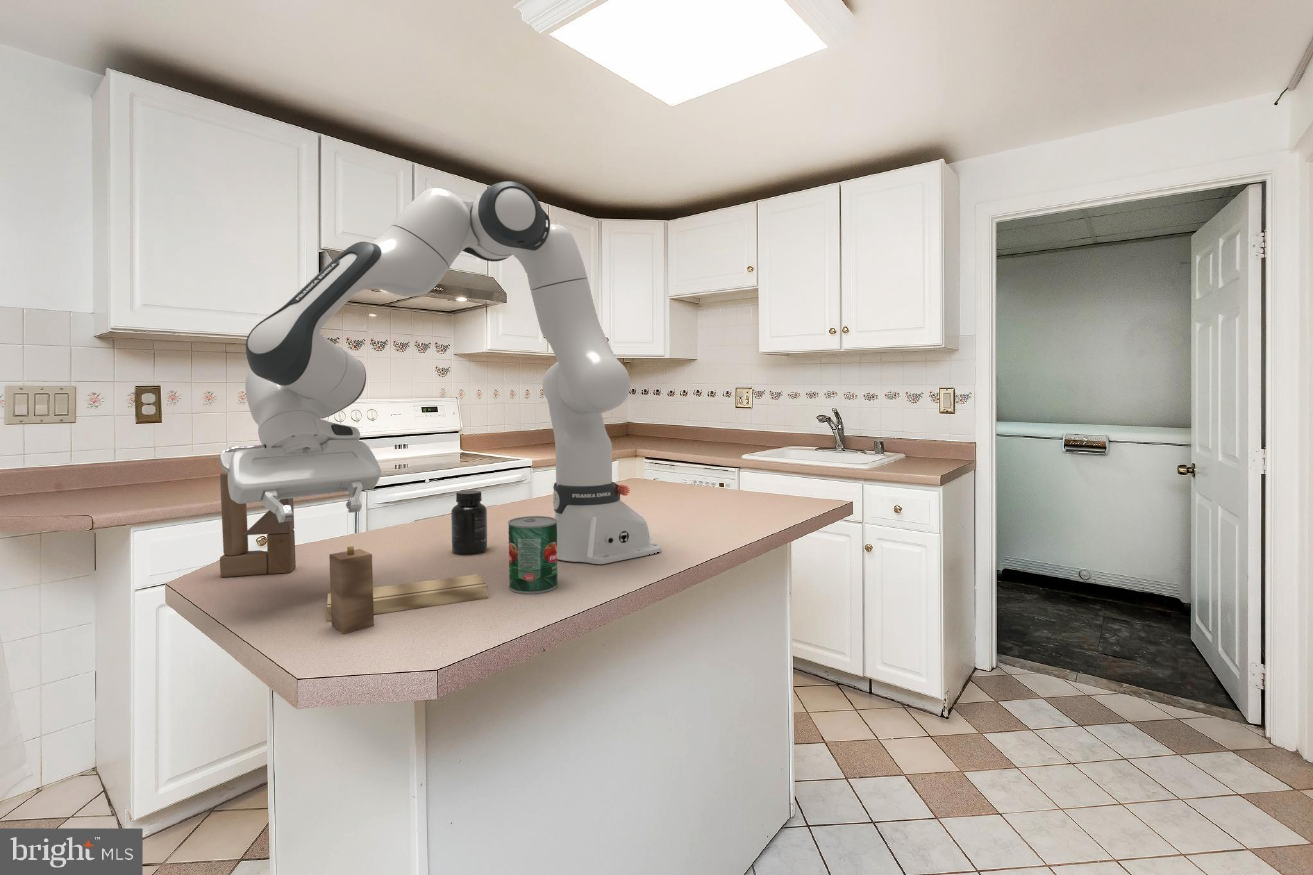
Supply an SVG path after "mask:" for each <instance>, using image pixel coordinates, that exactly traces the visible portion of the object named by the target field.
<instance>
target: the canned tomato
mask: <svg viewBox="0 0 1313 875" xmlns="http://www.w3.org/2000/svg"><path fill="white" fill-rule="evenodd" d="M507 525H508V574H509V575H508V581H509V585H508V589H509V590H510V591H511V592H513V593H516V594H521V595H522V594H523V595H536V594H544V593H548V592H551V591H553V590H555V589H556V588H557V587H558V585H559V584H558V559H557V519H555V517H551V516H545V515H543V516H542V515H528V516H519V517H515V518H511V519H509V520H508V521H507Z"/></svg>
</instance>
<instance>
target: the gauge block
mask: <svg viewBox="0 0 1313 875" xmlns="http://www.w3.org/2000/svg"><path fill="white" fill-rule="evenodd" d="M328 558H329V578H330V579H329V580H330V581H329V582H330V583H329V586H330V593H331V619H332V621H331V627H332V628H333V629H335V630H336V631H338V632H339V633H341V634H342V635H346V634H350V633H353V632H357V631H360V630H363V629H369V628H371V627H374V626H375V621H374V620H375V619H374V618H375V617H374V615H375V614H374V609H373V588H374V586H373V585H374V581H373V579H374V578H373V575H374V574H373V554H372V553H370V552H368V551H366V550H364V549H361V548H358V549H355V546H353V545H349V546H347V547H346V551H340V552H336V553H330V554H329V557H328Z"/></svg>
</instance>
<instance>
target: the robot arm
mask: <svg viewBox="0 0 1313 875" xmlns="http://www.w3.org/2000/svg"><path fill="white" fill-rule="evenodd" d="M462 252H464V253H467V254H470V255H472V256H475V257H476V258H478V259H480V260H483V261H487V262H501V261H504V260H506V259H508V258H509V257H511V256H513V257H514V258H515V259H517V260H518V262H519V264H521V266H522V267H523V270H524V273H525V274H526V276H527V280H528V285H529V289H530V294H531V298H532V301H533V306H534V309H535V314H536V317H537V321H538V326H539V330H540V332H541V334H542V335H543V337H544V338H545V339H546V340H547V343H548V344H549V346H550V347H551V349H552V352H553V354H554V355H555V358H556V360H557V361H556V362H555V363H554V364H553V365H551V366H550V367H549V368H548V369H547V370H546V372H545V373H544V374H543V378H542V391H543V395H544V396H545V398H546V400H547V403H548V408H549V410H548V411H549V415H550V422H551V426H552V432H553V436H554V443H555V444H554V445H555V482H554V484H553V493H552V503H553V510H554V518H555V519H557V560H559V561H565V562H572V563H573V562H574V563H575V562H577V563H587V564H593V565H604V564H609V563H610V564H611V563H615V562H619V561H624V560H625V561H626V560H629V559H634V558H639V557H645V556H650V555H655V554H658V553H657V552H659V553H661V550H662V548H661V544H659V543H658V542H657V541H656V540H654V539H652V538H651V537H650V531H649V526H648V523H647V521H646V519H645V518H644V517H643V516H642V515H640V514H639V513H638V512H637V511H635V510H634V509H633V508H632V507H630V506H629V505H627V504H626V503H625V502H624V501H623V500H621V495H622V496H625V497H626V496H628V495H629V494H630V491H631V489H630V487H629V486H628V485H625V484H618V483H616V482H614V481H613V444H612V441H611V438H610V436H609V434H608V432H607V429H606V427H605V421H604V418H603V414H604V413H606V412H610V411H612V410H614V409H616V408H618V407H620V406H621V405H622V404H623V403H624V402H625V401H626V399H627V397H628V396H629V394H630V389H631V379H630V375H629V372H628V370H627V368H626V367H625V365H623V364H622V362H620V361H619V360H618V357H616V355H615V353H614V351H613V350H612V347H611V346H610V343H609V342H608V339H607V336H606V334H605V333H604V331H603V329H602V325H601V324H600V322H599V318H598V314H597V311H596V307H595V303H594V299H593V295H592V290H591V287H590V282H589V278H588V274H587V271H586V270H587V269H586V268H585V265H584V261H583V258H582V254H581V252H580V250H579V247H578V245H577V243H576V240H575V237H574V235H573V234H572V232H571V231H570V229H568V228H567V227H566V226H563V225H561V224H557V223H551V219H550V217H549V215H548V214H547V212H546V211H545V210H544V209H543V208H542V205H541V203H540V201H539V199H538V198H537V197H536V196H535V194H534V193H533V192H532V191H531V190H530V189H529V188H528V187H527V186H525V184H524V185H523V184H522V183H519V182H517V181H510V180H509V181H499V182H497V183H494V184H492V185H490V186H489V187H487V188H486V189H485V190H484V191H483V193H481V194H480V195H479V196H478V197H477V198H476V199H475V200H474V201H466V200H464V199H461V198H460V197H459V196H458V195H457V194H455V193H454V192H451V191H450V190H448V189H445V188H441V187H431V188H427V189H425V190H424V191H422V192H421V193H420V194H419V195H418V196H417V197H415V198H414V199H413V200H412V201H411V202H410V203H409V204H408V205H407V206H406V207H404V209H403V210H402V211H401V212H400V213H399V215H398V216H397V217H396V218H395V219H394V221H393V222H392V223H391V224H390V226H389V227H388V228H387V229H386V231H385V232H384V233H382V234H381V235H380V236H379V237H377V238H376V239H374V240H372V241H370V242H368V241H359V242H356V243H354V244H351V245H350V246H348V247H347V248H345V249H344V250H343V251H342V252H341V253H339V254H338V255H337V256H335V258H333V259H332V260H331V261H330V262H329V263H328V264H327V265H326V266H325V267H324V268H323V269H322V270H321V271H320V272H318V273H317V274H316V275H315V276H314V277H313V278H312V279H311V280H310V281H309V282H308V283H307V284H306V285H305V286H304V287H302V288H301V289H300V290H299V291H298V292H296V294H295V295H294V296H293V297H292V298H291V299H289V300H288V301H287V302H286V303H285V304H284V305H283V306H281V307H280V308H279V309H278V310H276V311H275V312H273V313H271V314H269V316H266V318H263V319H262V320H261V321H259V322H258V323H257V324H256V325H255V326H254V327H253V328H252V329H251V330H250V331H249V334H248V335H247V338H246V341H245V354H246V360H247V363H248V365H249V366H248V367H249V370H248V372H247V375H246V377H245V384H244V385H245V387H244V388H245V389H244V390H245V396H246V401H247V404H248V408H249V411H250V415H251V417H252V419H253V421H254V422H255V424H257V426H258V427H257V429H258V430H257V433H258V438H259V440H260V444H257V445H256V444H254V445H252V444H251V445H247V446H245V445H244V446H239V445H237V446H235V445H234V446H230V447H229V448H228V449H225V450H223V451H222V452H220V454H219V456H218V460H219V463H220V466H221V468H222V470H224V472H228V489H229V494H230V498H231V499H232V500H233V501H235V502H236V503H238V504H245V503H246V504H250V503H259V502H261V503H262V504H263V507H264V508H265V509H267V510H268V511H269V510H270V511H272V512H273V513H274V514H276V515H277V518H278V521H279V523H280V522H287V521H291V520H292V519H291V518H292V517H293V512H292V511H291V507H290V505H285V506H284V505H283V504H281V503H280V502H279V500H280V499H288V498H293V499H295V498H303V497H304V498H305V497H313V496H314V497H315V496H321V495H330V494H338V493H339V494H340V493H348V494H349V496H350V497H348V499H347V502H346V503H345V507H346V509H347V511H348V513H349V514H350V513H358V512H360V511H361V509H362V501H361V499H360V495H361V492H362V491H366V490H367V491H368V490H373V489H375V487H376V486H377V485H378V482H379V481H380V479H381V475H382V469H381V466H380V464H379V462H378V460H377V458H376V456H375V455H374V453H373V451H372V450H371V448H370V447H369V445H367V444H366V443H365V442H363V441H362V440H360V437H361V432H360V430H359V429H358V428H357V427H356V426H352V425H346V424H345V425H344V424H340V423H336V422H333V421H327V420H325V419H326V418H329V417H330V416H333V415H335V414H337V413H338V412H339V413H340V412H341V411H342V410H344V409H346V408H348V407H349V406H351V405H352V404H354V403H355V402H356V401H358V399H359V398H360V397H361V396H362V394H363V392H364V390H365V388H366V383H367V372H366V371H367V370H366V368H365V366H364V363H362V361H360V360H359V359H358V358H356V357H355V356H354V355H352V354H351V353H349V352H348V351H346V350H345V349H344V348H343V347H341V346H339V345H337V344H335V343H334V342H332V341H331V340H329V339H328V338H326V336H324V335H322V334H321V331H322V328H323V327H324V326H325V324H326V323H327V322H329V321H330V319H331V318H333V317H334V316H335V315H336V313H337V312H339V311H340V310H341V309H342V307H343V306H345V305H346V303H348V302H349V301H350V300H351V299H352V298H353V297H354V296H355V295H357V294H358V293H360V292H362V291H365V290H369V289H371V290H372V289H374V290H380V291H384V292H387V293H391V294H393V295H397V296H401V297H418V296H422V295H426V294H427V293H430V292H431V291H432V290H433V289H434V288H435V287H436V286H437V285H438V284H439V283H440V282H441V281H442V279H443V278H444V276H445V274H446V273H448V270H449V269H450V268H451V266H453V263H454V262H455V260H456V259H457V258H458V256H459V255H460V254H461V253H462ZM351 496H353V497H351ZM654 553H655V554H654ZM649 554H650V555H649Z"/></svg>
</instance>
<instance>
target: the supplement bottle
mask: <svg viewBox="0 0 1313 875" xmlns="http://www.w3.org/2000/svg"><path fill="white" fill-rule="evenodd" d="M455 498H456V499H455V501H456V505H454V506H453V507H452V509H451V512H450V513H451V515H450V516H451V519H450V520H451V522H450V523H451V551H452V552H453V553H454V554H456V555H461V556H470V555H471V556H473V555H479V554H482V553H484V552H485V551H487V549H488V510H487V506H485V505H484V504H483V503H481V502H482V499H483V498H482V491H480V490H473V489H472V490H467V489H466V490H459V491H457V492H456V494H455Z"/></svg>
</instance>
